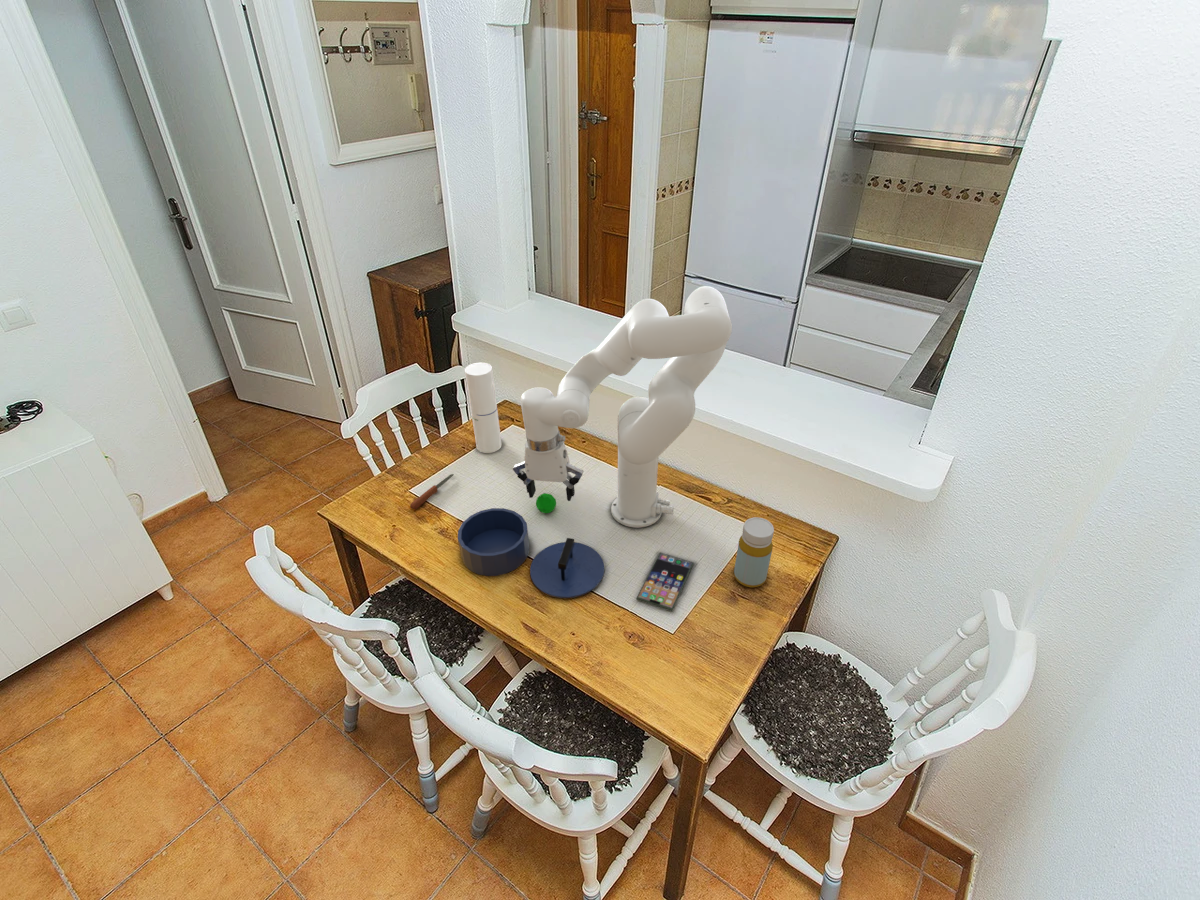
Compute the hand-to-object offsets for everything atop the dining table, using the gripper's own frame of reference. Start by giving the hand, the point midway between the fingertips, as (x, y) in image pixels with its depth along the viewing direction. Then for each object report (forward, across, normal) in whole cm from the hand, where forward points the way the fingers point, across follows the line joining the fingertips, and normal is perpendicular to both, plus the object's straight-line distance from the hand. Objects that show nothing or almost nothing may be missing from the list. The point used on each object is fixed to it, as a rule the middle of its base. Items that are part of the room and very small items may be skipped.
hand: (551, 495), depth 156 cm
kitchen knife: (+3, +32, -1) cm, 32 cm away
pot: (+4, +10, +16) cm, 19 cm away
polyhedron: (+5, +2, 0) cm, 5 cm away
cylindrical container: (+4, +26, -24) cm, 35 cm away
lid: (+4, -8, +19) cm, 22 cm away
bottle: (+7, -48, +13) cm, 51 cm away
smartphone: (+6, -30, +18) cm, 36 cm away
